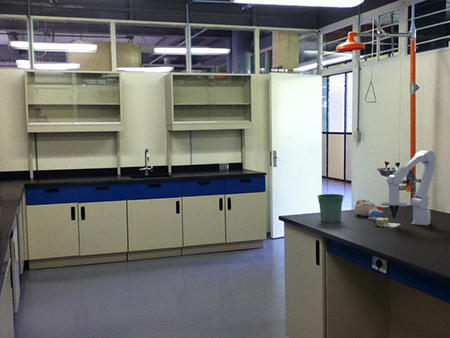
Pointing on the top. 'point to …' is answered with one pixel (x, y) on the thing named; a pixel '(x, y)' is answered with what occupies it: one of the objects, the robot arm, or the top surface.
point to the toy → (368, 209)
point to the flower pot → (330, 207)
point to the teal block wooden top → (382, 221)
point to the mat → (392, 225)
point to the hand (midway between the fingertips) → (393, 218)
